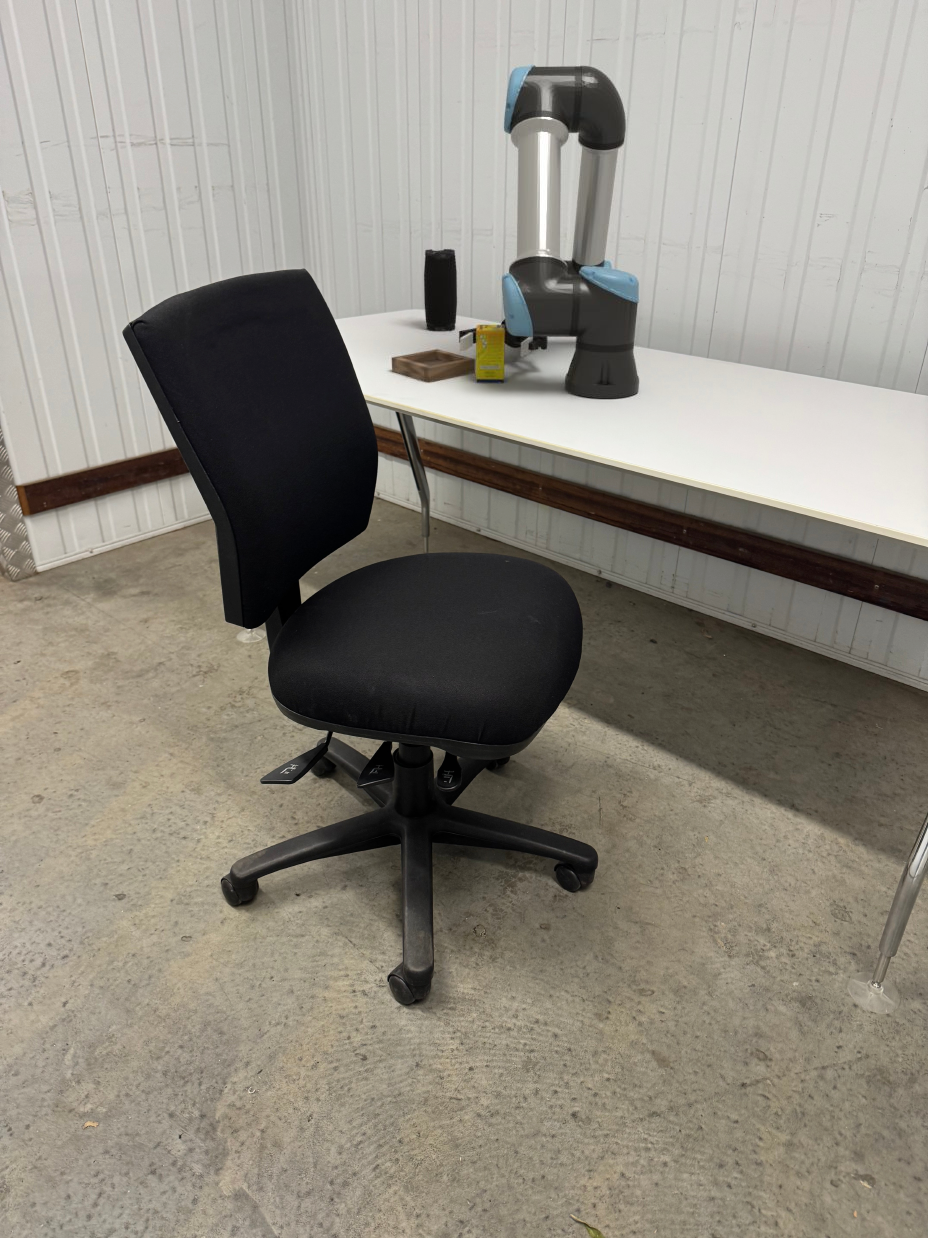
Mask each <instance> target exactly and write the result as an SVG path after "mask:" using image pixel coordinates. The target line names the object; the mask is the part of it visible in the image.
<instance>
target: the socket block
mask: <svg viewBox="0 0 928 1238" xmlns="http://www.w3.org/2000/svg"><path fill="white" fill-rule="evenodd" d="M391 371H392V372H393V373H397V374H399V375H402V376H406V377H409V378H412V379H416V380H418V381H419V380H420V381H423V382H426V383H434V382H438V381H443V380H448V379H453V378H457V377H462V376H467V375H472V374H476V358H473V357H468V356H465V355H460V354H457V353H453V352H449V351H446V350H442V349H437V348H436V349H432V350H431V349H430V350H424V351H421V352H414V353H409V354H404V355H399V356H393V357H391Z"/></svg>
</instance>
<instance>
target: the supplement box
mask: <svg viewBox="0 0 928 1238" xmlns="http://www.w3.org/2000/svg"><path fill="white" fill-rule="evenodd" d="M476 328H477V329H476V343H475V352H476V353H475V356H476V358H475V378H476V379H475V381H476V383H477V384H503V383H505V381H504V380H505V326H504V325H501V324H477V325H476Z"/></svg>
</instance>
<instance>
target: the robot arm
mask: <svg viewBox="0 0 928 1238" xmlns="http://www.w3.org/2000/svg"><path fill="white" fill-rule="evenodd" d="M506 92H507V93H506V99H505V110H504V116H503V117H504V118H503V131H504V132H505V133H506V134H508V135H510V140H511V143H512V145H514V147H515V148H517V205H516V206H517V207H516V208H517V210H516V211H517V214H516V215H517V221H516V225H517V226H516V228H517V229H516V258H515V259H514V260H513V261H512V262H511V263H510V265H509V267H508V273H506V274H503V275H502V277H501V291H502V292H501V293H502V304H503V307H502V308H503V314H504V319H503V320H502V322H501V323H500V325H504V326H505V343H504V345H506V346H507V347H509V348H512V349H519V348H520V357H525V356H526V355H527V354H529V353H530V352H531V351H535V350H539V348H540V349H541V350H544V351H545V350H548V338H551V337H552V338H575V350H574V353H573V356H572V357H571V361H570V363H569V366H568V371H567V373H566V375H565V377H564V390H566V391H567V392H568V393H571V394H573V395H576V396H581V397H585V398H586V397H587V398H593V399H619V398H625V397H630V396H633V395H636V394H637V393H638V392H639V388H640V378H639V375H638V369H637V364H636V359H635V354H634V349H635V348H634V347H635V337H636V324H637V317H638V316H637V315H638V305H639V304H638V303H640V299H639V297H640V296H639V292H640V291H639V289H640V287H639V285H640V283H639V279H638V278H637V277H636V276H635V275H634V274H633V273H630V272H628V271H627V272H626V271H623V270H620V269H614V268H612V263H611V261H610V260H605V258H606V251H607V242H608V234H609V226H610V217H611V211H612V202H613V193H614V186H615V178H616V171H617V170H616V169H617V162H618V161H617V160H618V154H619V149H621V148H622V147H623V146H624V143H625V139H626V138H625V137H626V133H627V132H626V131H627V127H626V126H627V123H626V121H627V120H626V113H625V108H624V104H623V100H622V98H621V96H620V94H619V91H618V89H617V88H616V86H615V84H614V83H613V81H612V80H611V79H610V78H609V77H608V75H607V74H605V73H604V72H603V71H601V70H600V69H598V68H596V67H593V66H589V65H580V66H579V65H577V66H576V65H575V66H573V65H571V66H569V65H567V66H561V65H560V66H536V65H534V64H531V65H529V66H518V67H515V68H514V69H513V70H512V71H511V72H510V75H509V80H508V85H507V91H506ZM570 134H578V135H577V141H578V142H577V143H578V144H579V145H580V147H581V158H580V166H579V167H580V168H579V169H580V170H579V176H578V189H577V197H576V198H577V199H576V210H575V211H576V212H575V219H574V220H575V221H574V231H573V246H572V254H571V255H572V256H571V260H568V259H567V260H565V259H564V260H563V259H562V258H561V185H562V184H561V181H562V180H561V179H562V178H561V177H562V173H561V172H562V171H561V169H562V167H561V166H562V165H561V163H562V160H561V159H562V147H564V146H565V144H566V143H567V142H568V140H569V135H570ZM476 329H477V327H473V328H468V329H464V330H463V329H462V330H459V331H458V343H459V352H465V351H467V350H468V349H469V348H471V347H472V346H474V344H475V345H476Z"/></svg>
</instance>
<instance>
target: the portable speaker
mask: <svg viewBox="0 0 928 1238" xmlns="http://www.w3.org/2000/svg"><path fill="white" fill-rule="evenodd" d="M424 255H425V256H424V269H423V294H424V295H423V296H424V297H423V298H424V315H425V323H426V330H429V331H432V332H434V331H435V330H436V329H445V331H447V332H450V331H451V332H452V331H454V330H455V329H456V323H457V311H458V309H457V308H458V281H457V280H458V277H457V275H458V272H457V259H456V258H457V257H456V250H455V249H452V248H444V249H442V250H440V249H439V250H433V249H425V251H424Z"/></svg>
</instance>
